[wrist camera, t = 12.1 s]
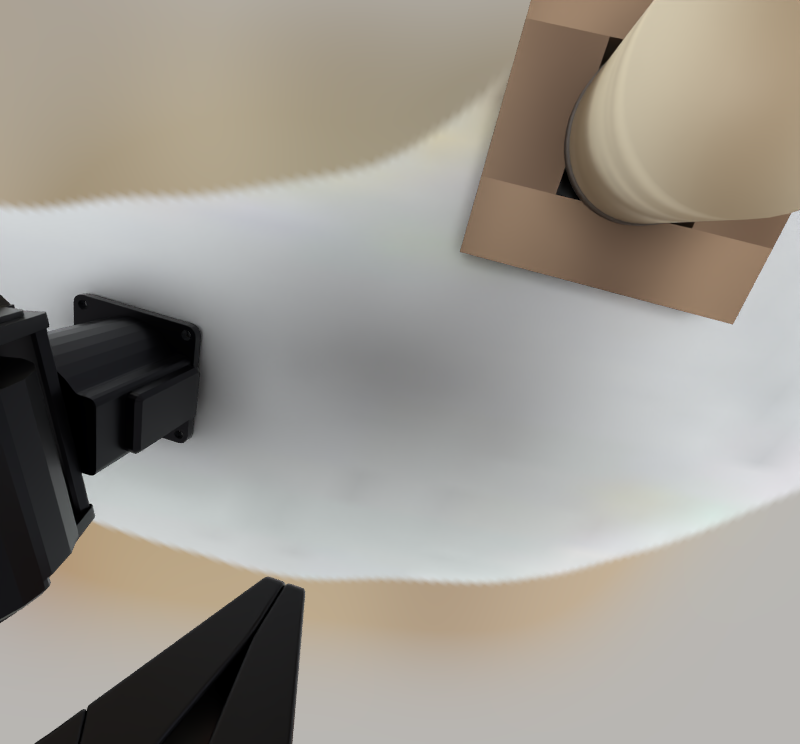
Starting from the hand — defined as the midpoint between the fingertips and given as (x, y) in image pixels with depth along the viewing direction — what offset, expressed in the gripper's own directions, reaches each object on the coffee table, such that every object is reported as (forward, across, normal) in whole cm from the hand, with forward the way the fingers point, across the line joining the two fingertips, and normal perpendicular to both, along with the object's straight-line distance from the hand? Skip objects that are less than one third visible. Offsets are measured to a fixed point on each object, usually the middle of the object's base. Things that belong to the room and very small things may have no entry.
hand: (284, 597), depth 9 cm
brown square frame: (+12, -6, -12) cm, 18 cm away
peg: (+12, -6, -12) cm, 18 cm away
